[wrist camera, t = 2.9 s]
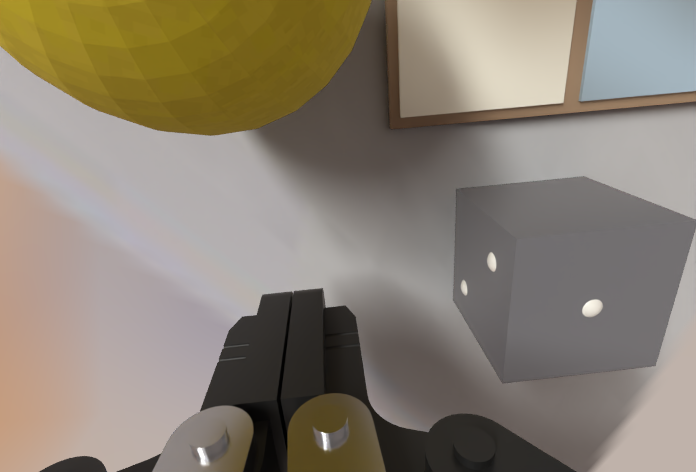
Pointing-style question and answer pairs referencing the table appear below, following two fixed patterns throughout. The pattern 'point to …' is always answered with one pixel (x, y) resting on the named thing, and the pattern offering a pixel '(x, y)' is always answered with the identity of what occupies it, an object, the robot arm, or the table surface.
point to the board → (535, 57)
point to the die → (566, 276)
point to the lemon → (185, 56)
